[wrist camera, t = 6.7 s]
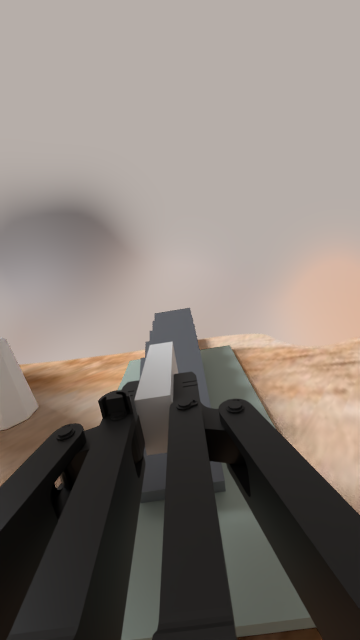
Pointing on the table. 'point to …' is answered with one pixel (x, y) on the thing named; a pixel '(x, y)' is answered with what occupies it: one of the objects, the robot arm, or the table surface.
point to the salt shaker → (13, 390)
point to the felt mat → (236, 531)
